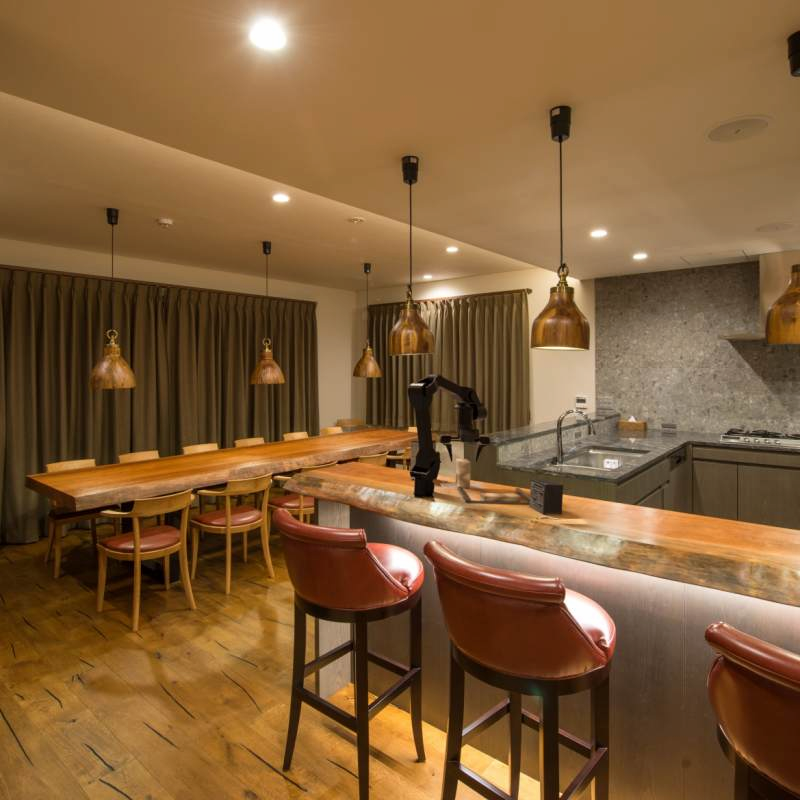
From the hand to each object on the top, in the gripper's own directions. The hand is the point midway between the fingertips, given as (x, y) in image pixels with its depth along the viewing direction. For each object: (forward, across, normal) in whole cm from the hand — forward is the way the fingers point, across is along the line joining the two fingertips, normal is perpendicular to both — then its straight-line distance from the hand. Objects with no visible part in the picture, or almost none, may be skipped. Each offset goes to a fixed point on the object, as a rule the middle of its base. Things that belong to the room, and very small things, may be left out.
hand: (463, 462), depth 196 cm
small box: (+10, +20, -38) cm, 44 cm away
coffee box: (+10, -14, +17) cm, 24 cm away
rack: (+10, +8, -20) cm, 24 cm away
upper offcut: (+8, +8, -26) cm, 29 cm away
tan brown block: (+10, 0, 0) cm, 10 cm away
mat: (+10, 0, 0) cm, 10 cm away
